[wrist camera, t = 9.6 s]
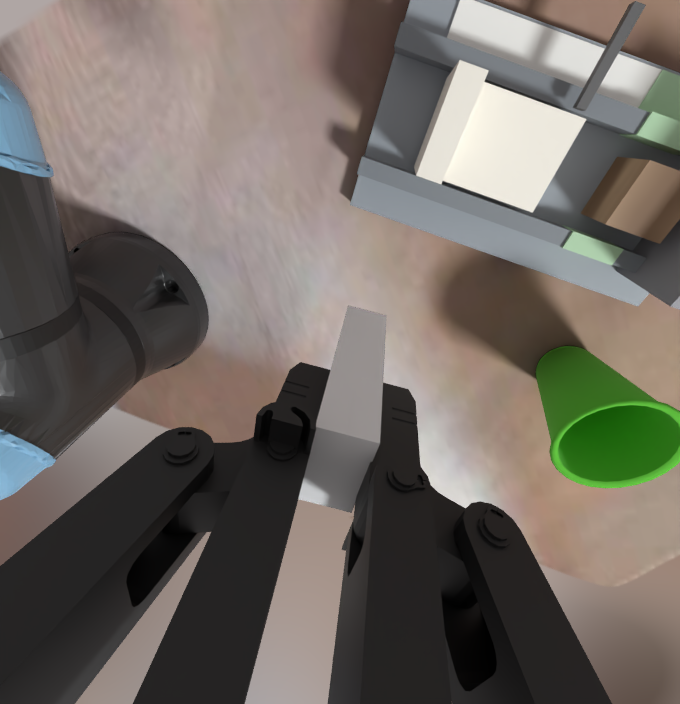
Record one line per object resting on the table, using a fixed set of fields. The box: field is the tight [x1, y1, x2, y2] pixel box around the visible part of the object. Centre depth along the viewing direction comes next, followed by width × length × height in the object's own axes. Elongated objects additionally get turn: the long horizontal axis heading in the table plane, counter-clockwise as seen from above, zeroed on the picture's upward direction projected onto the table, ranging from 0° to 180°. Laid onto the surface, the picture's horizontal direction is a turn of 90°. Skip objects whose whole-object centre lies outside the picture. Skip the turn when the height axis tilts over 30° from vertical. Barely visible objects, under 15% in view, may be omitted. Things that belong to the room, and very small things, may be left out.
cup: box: [536, 346, 680, 488], centre depth 31 cm, size 9×9×11 cm
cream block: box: [414, 1, 646, 213], centre depth 21 cm, size 9×11×7 cm
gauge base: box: [350, 0, 680, 310], centre depth 24 cm, size 26×14×8 cm, turn 73°
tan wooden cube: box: [581, 157, 680, 244], centre depth 24 cm, size 4×4×4 cm
